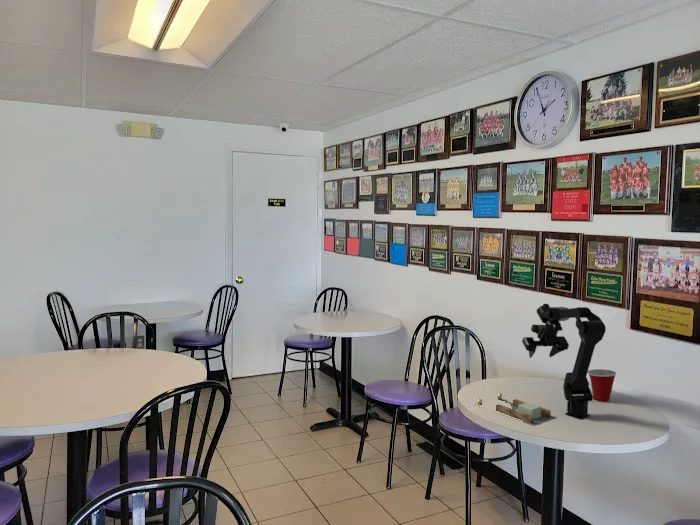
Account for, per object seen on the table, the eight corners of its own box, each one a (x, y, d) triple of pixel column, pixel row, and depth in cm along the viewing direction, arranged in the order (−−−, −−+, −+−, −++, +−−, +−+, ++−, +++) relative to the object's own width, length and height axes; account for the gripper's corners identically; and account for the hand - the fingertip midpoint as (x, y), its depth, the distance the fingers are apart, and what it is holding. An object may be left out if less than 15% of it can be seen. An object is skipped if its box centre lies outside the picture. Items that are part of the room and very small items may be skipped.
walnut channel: (550, 417, 202) (550, 410, 202) (530, 423, 195) (530, 417, 195) (515, 405, 215) (515, 399, 215) (495, 411, 208) (495, 405, 208)
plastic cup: (588, 393, 229) (589, 366, 228) (616, 398, 224) (617, 370, 223) (584, 401, 220) (585, 372, 219) (613, 405, 215) (615, 376, 214)
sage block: (541, 416, 202) (541, 406, 201) (531, 420, 198) (531, 409, 198) (527, 412, 207) (527, 402, 206) (517, 415, 203) (518, 405, 203)
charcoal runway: (556, 418, 201) (556, 417, 201) (533, 426, 193) (533, 425, 193) (497, 398, 224) (497, 397, 224) (474, 404, 215) (474, 404, 215)
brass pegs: (502, 399, 221) (502, 394, 221) (479, 406, 213) (479, 400, 213) (499, 398, 223) (499, 393, 222) (476, 405, 214) (476, 399, 214)
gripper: (563, 317, 232) (552, 343, 241) (522, 318, 229) (513, 344, 239) (574, 335, 223) (563, 361, 232) (532, 336, 220) (522, 362, 230)
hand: (540, 356), depth 233 cm, fingers open, 9 cm apart
